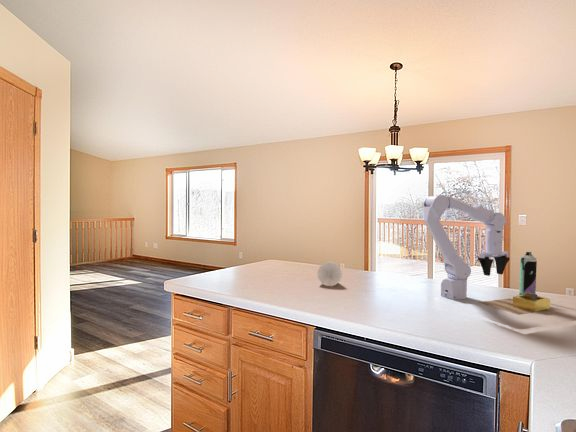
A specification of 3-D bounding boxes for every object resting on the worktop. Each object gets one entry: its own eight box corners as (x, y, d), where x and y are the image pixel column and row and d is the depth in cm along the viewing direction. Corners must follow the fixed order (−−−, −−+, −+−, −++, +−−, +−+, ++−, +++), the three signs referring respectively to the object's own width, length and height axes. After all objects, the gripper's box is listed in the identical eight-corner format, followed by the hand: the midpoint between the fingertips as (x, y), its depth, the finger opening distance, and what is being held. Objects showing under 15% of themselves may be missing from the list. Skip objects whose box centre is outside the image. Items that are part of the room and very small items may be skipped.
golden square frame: (535, 311, 121) (535, 302, 121) (513, 305, 129) (512, 296, 129) (549, 308, 124) (549, 298, 124) (527, 302, 132) (527, 293, 132)
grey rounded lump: (328, 259, 182) (328, 256, 164) (345, 274, 179) (347, 273, 162) (314, 275, 181) (312, 274, 164) (330, 290, 179) (330, 291, 161)
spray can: (530, 302, 138) (532, 253, 138) (516, 299, 143) (517, 251, 143) (538, 301, 141) (539, 252, 140) (523, 297, 146) (525, 250, 145)
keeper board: (518, 317, 118) (519, 300, 118) (477, 305, 133) (478, 289, 133) (552, 312, 125) (553, 296, 125) (509, 301, 140) (510, 286, 139)
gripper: (490, 243, 134) (489, 277, 135) (515, 242, 140) (515, 275, 140) (474, 241, 141) (474, 274, 141) (499, 240, 146) (498, 272, 147)
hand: (493, 274), depth 141 cm, fingers open, 7 cm apart
